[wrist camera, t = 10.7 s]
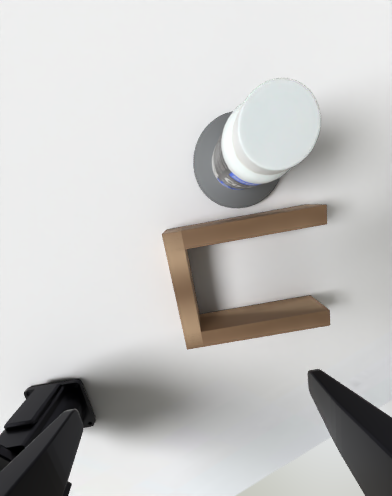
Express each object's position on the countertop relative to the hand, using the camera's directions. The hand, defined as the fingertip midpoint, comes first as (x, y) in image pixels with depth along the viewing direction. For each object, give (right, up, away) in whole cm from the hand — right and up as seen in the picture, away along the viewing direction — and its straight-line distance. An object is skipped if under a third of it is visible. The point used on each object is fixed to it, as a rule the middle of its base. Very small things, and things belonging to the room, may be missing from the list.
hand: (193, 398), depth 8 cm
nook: (+5, +3, +13) cm, 14 cm away
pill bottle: (+4, +13, +10) cm, 17 cm away
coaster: (+4, +13, +10) cm, 17 cm away
